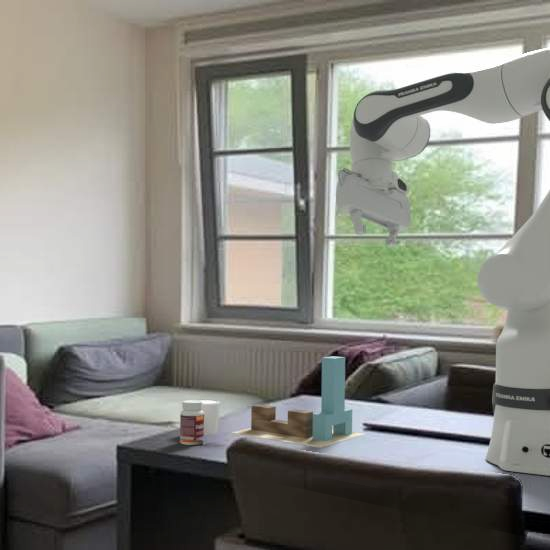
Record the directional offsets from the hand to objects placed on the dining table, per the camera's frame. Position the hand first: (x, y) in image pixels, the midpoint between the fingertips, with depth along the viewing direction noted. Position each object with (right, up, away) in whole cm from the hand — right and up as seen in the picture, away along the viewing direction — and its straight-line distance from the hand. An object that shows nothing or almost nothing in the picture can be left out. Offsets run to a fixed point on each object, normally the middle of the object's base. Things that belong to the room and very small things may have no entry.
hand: (376, 239), depth 163 cm
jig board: (-16, -41, -2) cm, 45 cm away
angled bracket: (-9, -40, -5) cm, 41 cm away
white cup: (-36, -41, +3) cm, 55 cm away
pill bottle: (-38, -41, -6) cm, 56 cm away
